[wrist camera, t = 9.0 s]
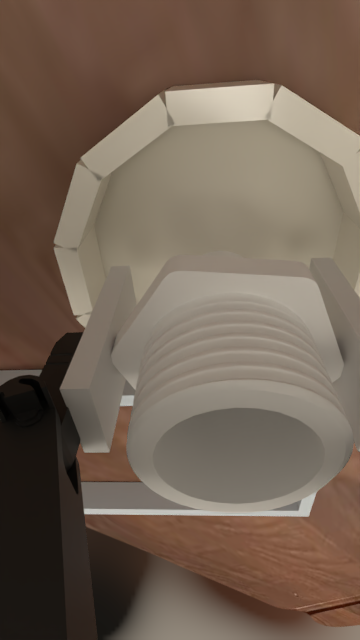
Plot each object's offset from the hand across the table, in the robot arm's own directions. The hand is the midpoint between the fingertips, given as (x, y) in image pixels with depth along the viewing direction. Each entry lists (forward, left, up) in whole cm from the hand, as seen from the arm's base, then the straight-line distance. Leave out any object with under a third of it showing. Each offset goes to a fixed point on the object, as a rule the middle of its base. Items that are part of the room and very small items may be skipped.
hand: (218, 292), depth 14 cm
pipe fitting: (0, 0, -1) cm, 1 cm away
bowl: (0, 0, -5) cm, 5 cm away
